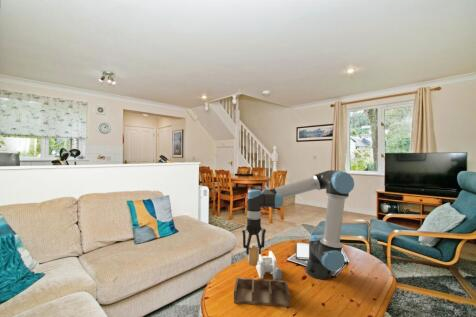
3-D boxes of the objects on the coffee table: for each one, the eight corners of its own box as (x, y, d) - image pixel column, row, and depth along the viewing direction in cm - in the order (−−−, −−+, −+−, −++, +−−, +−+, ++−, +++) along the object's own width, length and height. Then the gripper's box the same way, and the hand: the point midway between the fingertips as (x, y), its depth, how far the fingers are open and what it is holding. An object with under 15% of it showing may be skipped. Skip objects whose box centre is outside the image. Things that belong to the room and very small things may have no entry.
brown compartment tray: (286, 291, 117) (286, 280, 117) (289, 306, 105) (290, 294, 105) (236, 288, 119) (236, 277, 119) (233, 302, 107) (234, 290, 107)
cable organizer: (277, 280, 128) (277, 260, 128) (259, 281, 127) (259, 260, 127) (271, 267, 142) (271, 249, 142) (255, 268, 142) (255, 250, 142)
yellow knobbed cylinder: (256, 261, 124) (256, 243, 124) (258, 265, 119) (258, 247, 119) (248, 262, 123) (248, 243, 123) (249, 266, 119) (250, 247, 119)
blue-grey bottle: (281, 284, 123) (281, 266, 123) (282, 289, 119) (282, 270, 119) (272, 284, 124) (273, 266, 124) (273, 288, 119) (273, 270, 119)
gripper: (267, 215, 126) (267, 256, 126) (237, 216, 124) (237, 257, 124) (270, 219, 118) (270, 262, 118) (239, 219, 116) (238, 263, 116)
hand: (253, 259), depth 121 cm, fingers closed on yellow knobbed cylinder, 4 cm apart
